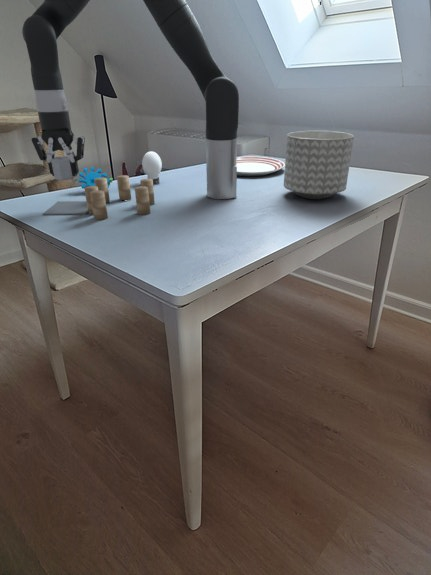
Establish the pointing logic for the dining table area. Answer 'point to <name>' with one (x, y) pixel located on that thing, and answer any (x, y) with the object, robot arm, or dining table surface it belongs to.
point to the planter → (317, 163)
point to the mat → (68, 208)
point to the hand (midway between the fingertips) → (65, 175)
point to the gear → (92, 177)
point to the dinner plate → (257, 166)
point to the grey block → (62, 168)
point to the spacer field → (100, 196)
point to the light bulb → (152, 166)
